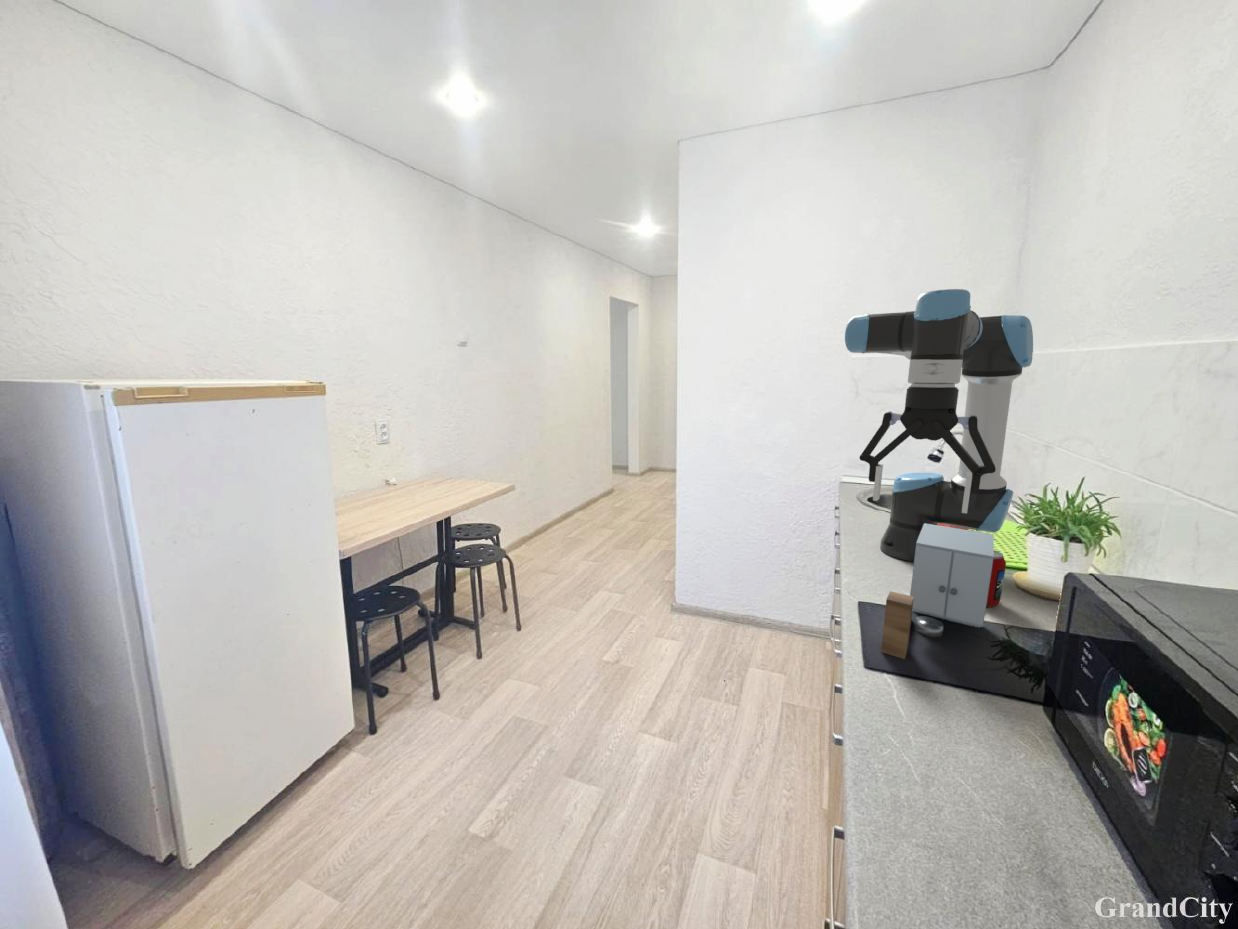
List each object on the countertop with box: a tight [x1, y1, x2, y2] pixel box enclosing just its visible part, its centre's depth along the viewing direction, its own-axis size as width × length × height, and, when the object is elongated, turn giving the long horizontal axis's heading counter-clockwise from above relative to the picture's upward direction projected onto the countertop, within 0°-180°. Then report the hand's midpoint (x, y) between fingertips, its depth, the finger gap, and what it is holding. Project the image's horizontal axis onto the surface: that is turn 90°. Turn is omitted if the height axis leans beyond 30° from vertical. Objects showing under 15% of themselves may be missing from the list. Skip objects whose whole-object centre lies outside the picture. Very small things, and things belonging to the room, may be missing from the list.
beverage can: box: [986, 549, 1007, 608], centre depth 110 cm, size 7×7×12 cm
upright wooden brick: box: [880, 591, 914, 660], centre depth 97 cm, size 17×4×11 cm, turn 143°
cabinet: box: [909, 523, 995, 629], centre depth 98 cm, size 15×12×20 cm
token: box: [913, 615, 945, 638], centre depth 100 cm, size 5×5×2 cm
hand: (918, 505), depth 87 cm, fingers open, 13 cm apart
